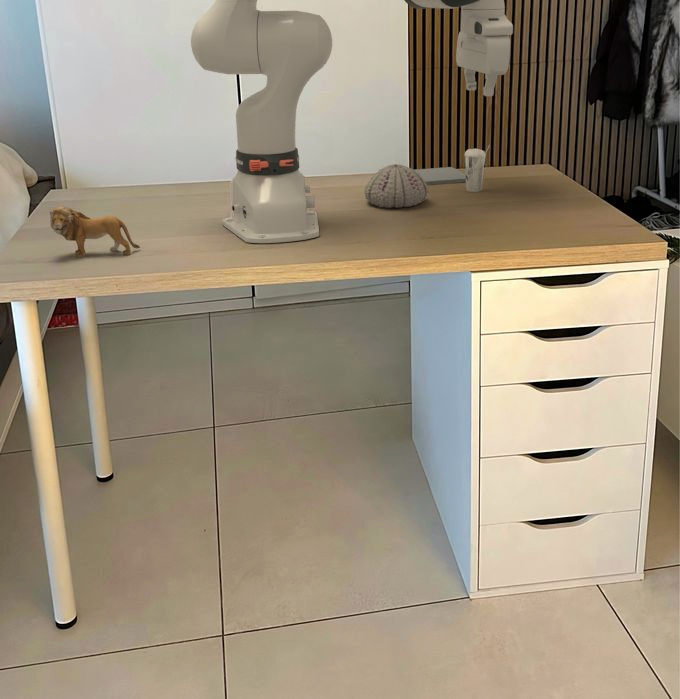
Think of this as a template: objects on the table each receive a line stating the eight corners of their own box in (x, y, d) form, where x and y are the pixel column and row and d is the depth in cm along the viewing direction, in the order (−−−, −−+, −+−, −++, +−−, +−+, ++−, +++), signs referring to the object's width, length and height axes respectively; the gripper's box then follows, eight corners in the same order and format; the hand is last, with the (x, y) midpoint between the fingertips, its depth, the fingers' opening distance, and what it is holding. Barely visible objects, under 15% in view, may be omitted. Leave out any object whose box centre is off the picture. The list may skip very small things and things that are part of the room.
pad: (471, 181, 209) (471, 178, 209) (417, 185, 206) (418, 182, 206) (451, 170, 221) (451, 166, 220) (400, 173, 218) (400, 170, 218)
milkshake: (489, 192, 199) (491, 146, 195) (464, 193, 199) (466, 146, 195) (486, 188, 203) (488, 142, 199) (462, 188, 203) (463, 143, 199)
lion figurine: (55, 262, 158) (47, 211, 154) (55, 253, 163) (48, 204, 159) (141, 254, 161) (135, 204, 158) (139, 246, 166) (134, 197, 163)
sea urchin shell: (438, 207, 188) (439, 168, 185) (377, 214, 184) (377, 174, 181) (412, 193, 200) (412, 156, 197) (354, 199, 196) (354, 162, 193)
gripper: (449, 21, 196) (448, 87, 201) (487, 27, 178) (483, 100, 183) (477, 20, 197) (474, 86, 203) (517, 26, 179) (513, 98, 185)
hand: (479, 93), depth 193 cm, fingers open, 8 cm apart
